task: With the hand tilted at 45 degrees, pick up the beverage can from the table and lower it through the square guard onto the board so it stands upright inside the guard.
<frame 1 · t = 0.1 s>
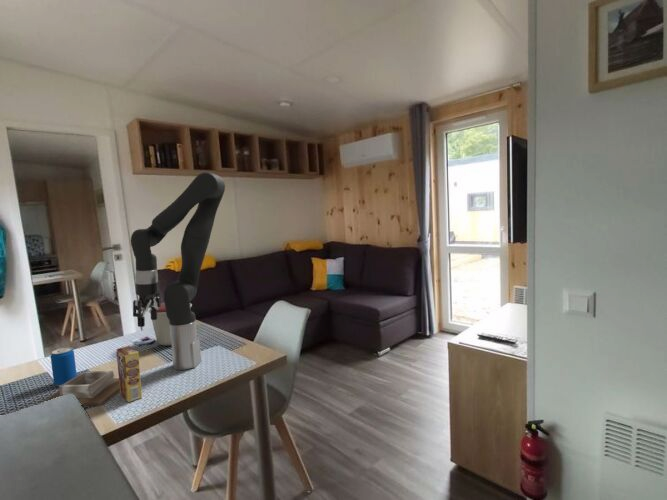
hand: (147, 322, 130), 17 cm above the table, tool pointing down, fingers open, 8 cm apart
guard socket: (88, 392, 113), on the table
candy box: (131, 396, 110), on the table
canister: (173, 342, 158), on the table
beverage can: (66, 383, 120), on the table
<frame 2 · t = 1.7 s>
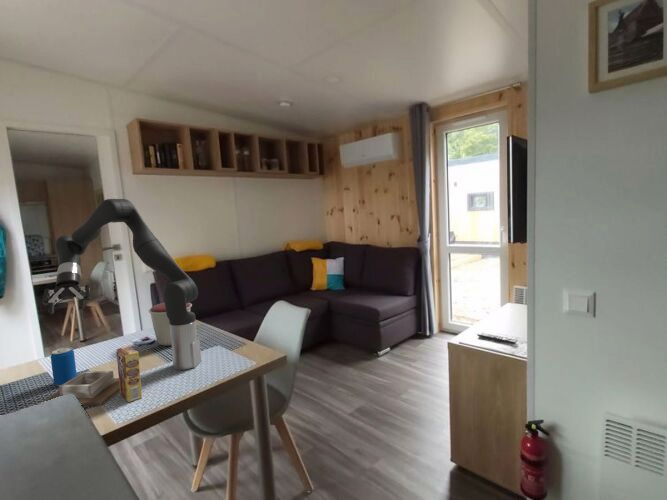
hand: (66, 311, 126), 24 cm above the table, tool tilted 45°, fingers open, 8 cm apart
nothing on the table moved.
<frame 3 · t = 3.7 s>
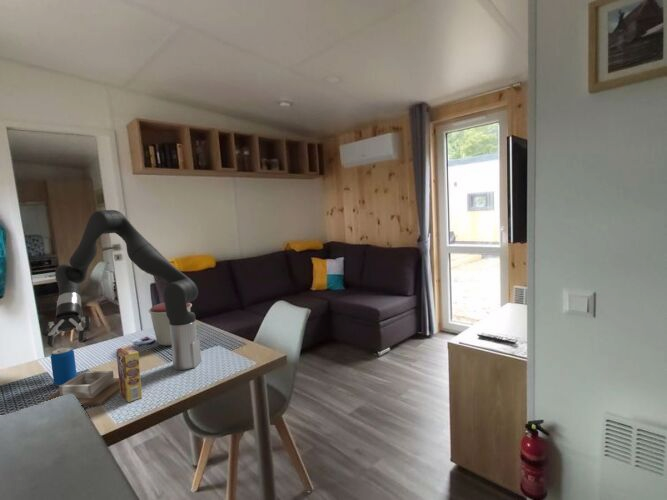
hand: (66, 343, 125), 12 cm above the table, tool tilted 45°, fingers open, 8 cm apart
nothing on the table moved.
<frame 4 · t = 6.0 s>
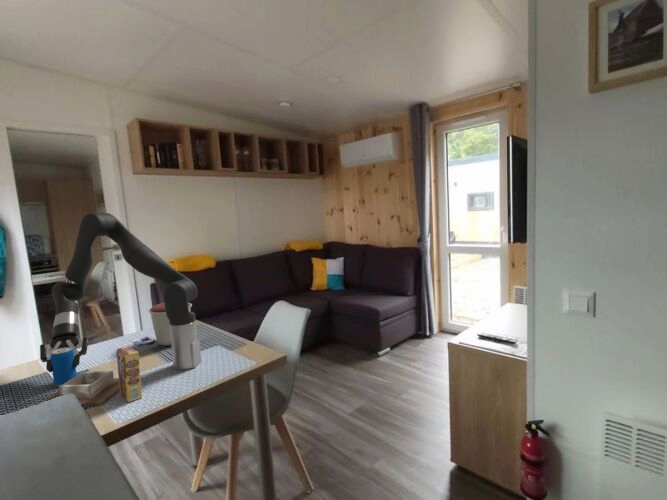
hand: (63, 368, 118), 6 cm above the table, tool tilted 45°, fingers closed on beverage can, 6 cm apart
beverage can: (66, 383, 120), on the table, touching gripper
everything else where it was.
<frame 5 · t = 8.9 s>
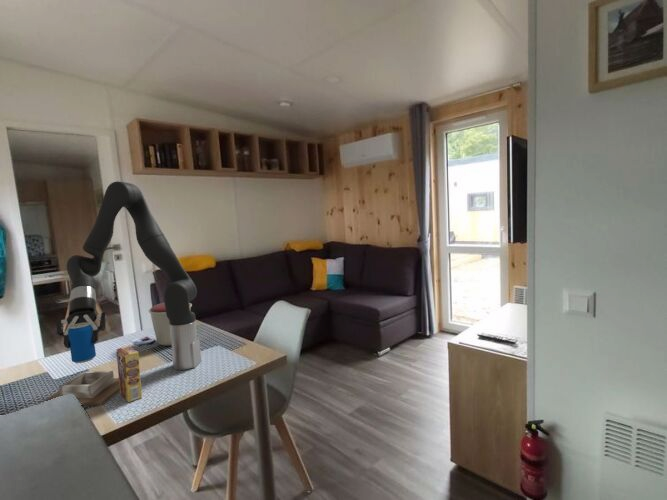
hand: (81, 344, 110), 17 cm above the table, tool tilted 45°, fingers closed on beverage can, 6 cm apart
beverage can: (84, 360, 112), point 11 cm above the table, touching gripper
everything else where it was.
when the fingers open (8 cm above the table, at t = 11.8 s): beverage can drops 1 cm, resting on guard socket.
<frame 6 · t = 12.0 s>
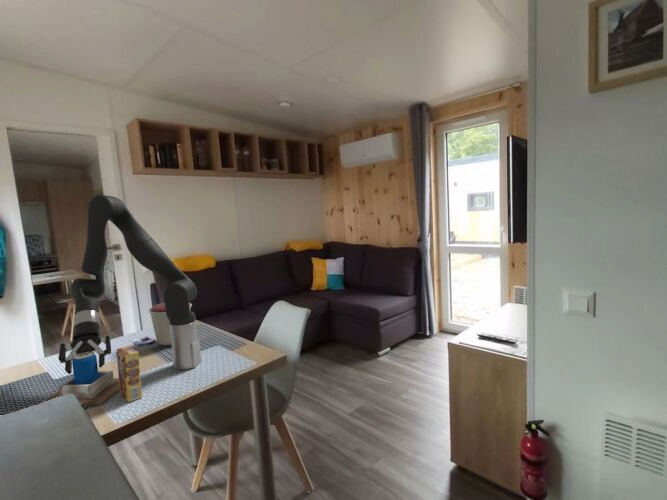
hand: (85, 369, 111), 9 cm above the table, tool tilted 45°, fingers open, 8 cm apart
beverage can: (88, 390, 113), point 1 cm above the table, touching guard socket
everything else where it was.
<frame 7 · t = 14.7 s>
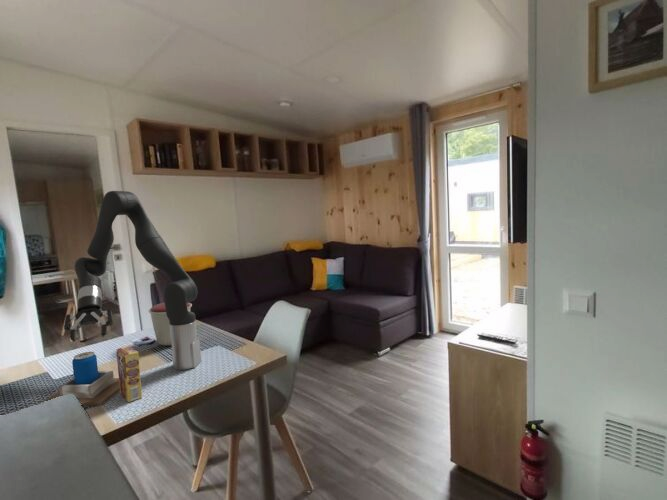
hand: (88, 338, 121), 15 cm above the table, tool tilted 45°, fingers open, 8 cm apart
nothing on the table moved.
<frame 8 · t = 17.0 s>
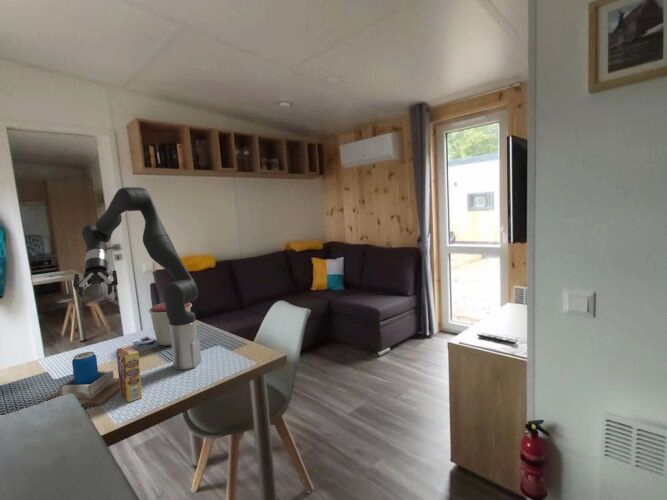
hand: (95, 295, 130), 29 cm above the table, tool tilted 45°, fingers open, 8 cm apart
nothing on the table moved.
at the end: beverage can 0.2 cm off-centre on the guard socket, point 0.8 cm above the guard socket's base; beverage can tilted 0°; the gripper is holding nothing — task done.
